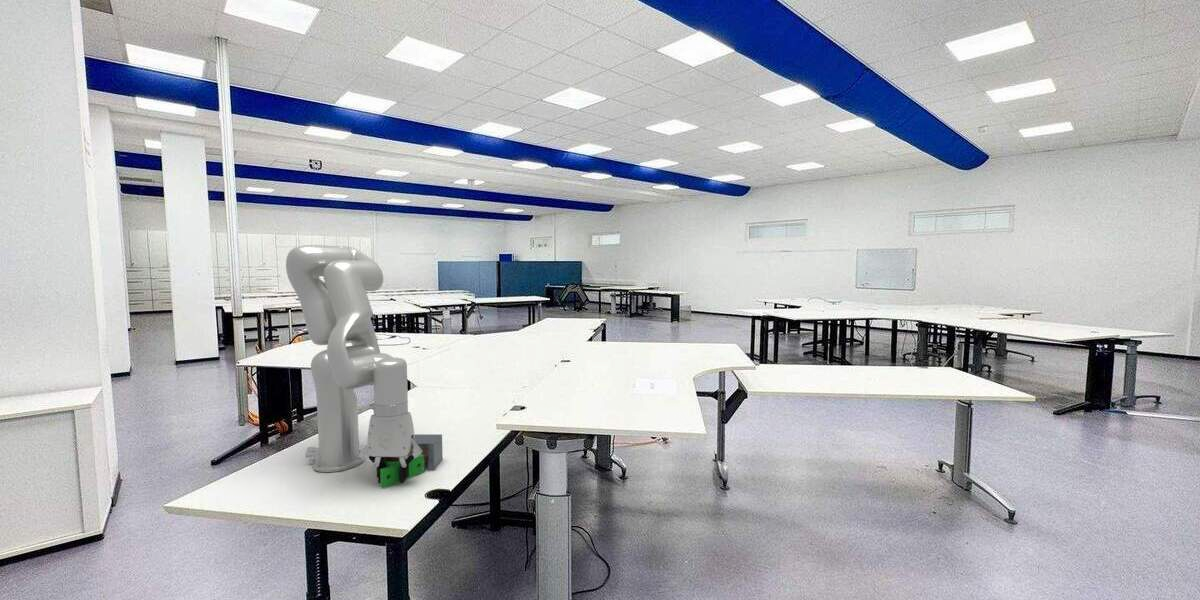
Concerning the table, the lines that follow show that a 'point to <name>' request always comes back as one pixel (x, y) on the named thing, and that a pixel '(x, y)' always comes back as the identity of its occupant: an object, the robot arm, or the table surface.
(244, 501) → the table surface
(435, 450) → the grey sleeve
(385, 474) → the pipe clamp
